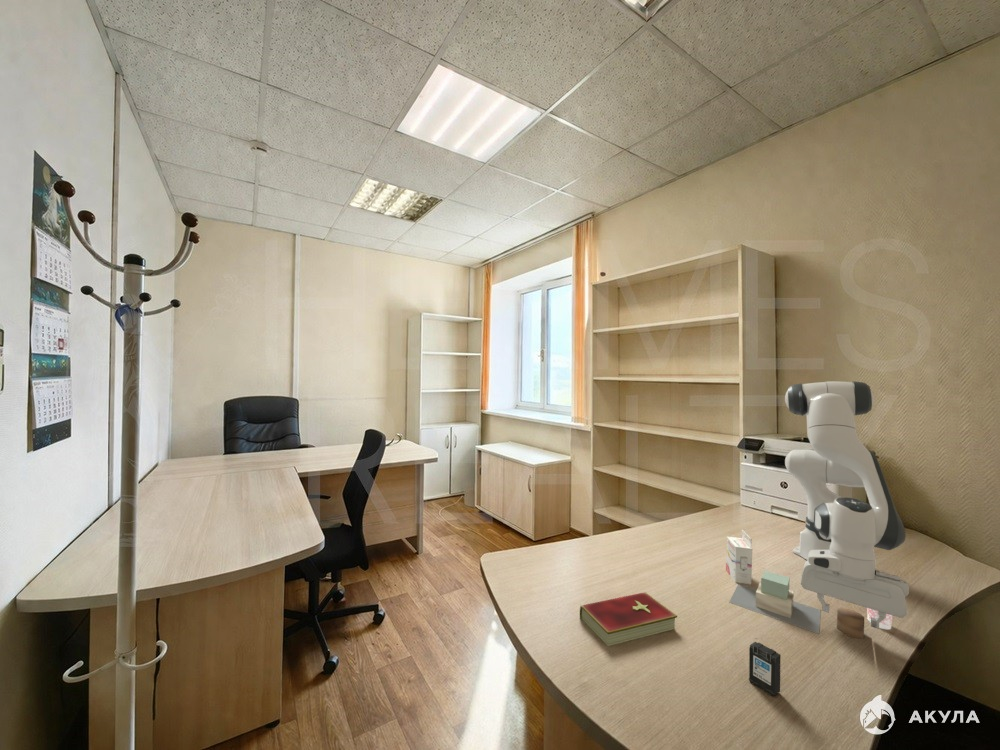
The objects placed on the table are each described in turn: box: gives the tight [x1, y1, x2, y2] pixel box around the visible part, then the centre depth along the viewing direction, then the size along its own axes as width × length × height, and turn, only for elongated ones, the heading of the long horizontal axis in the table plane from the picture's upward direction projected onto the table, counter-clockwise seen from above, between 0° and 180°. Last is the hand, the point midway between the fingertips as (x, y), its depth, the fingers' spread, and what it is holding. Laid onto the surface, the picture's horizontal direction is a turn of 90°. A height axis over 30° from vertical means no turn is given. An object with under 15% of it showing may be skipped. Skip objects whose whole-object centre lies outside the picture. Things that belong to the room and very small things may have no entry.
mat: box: [728, 583, 822, 635], centre depth 112 cm, size 14×20×1 cm
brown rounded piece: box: [836, 607, 865, 639], centre depth 102 cm, size 5×5×5 cm
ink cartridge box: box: [725, 529, 753, 585], centre depth 129 cm, size 9×5×15 cm, turn 168°
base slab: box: [756, 580, 795, 618], centre depth 112 cm, size 8×8×4 cm
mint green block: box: [760, 569, 791, 600], centre depth 112 cm, size 6×6×4 cm
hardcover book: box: [579, 591, 678, 647], centre depth 103 cm, size 12×21×4 cm, turn 111°
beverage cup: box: [866, 570, 894, 630], centre depth 107 cm, size 6×6×14 cm
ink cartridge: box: [748, 641, 781, 697], centre depth 83 cm, size 5×2×8 cm, turn 32°
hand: (849, 618), depth 102 cm, fingers open, 8 cm apart
